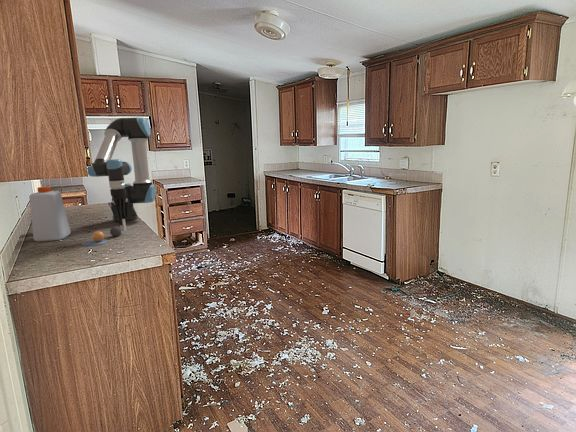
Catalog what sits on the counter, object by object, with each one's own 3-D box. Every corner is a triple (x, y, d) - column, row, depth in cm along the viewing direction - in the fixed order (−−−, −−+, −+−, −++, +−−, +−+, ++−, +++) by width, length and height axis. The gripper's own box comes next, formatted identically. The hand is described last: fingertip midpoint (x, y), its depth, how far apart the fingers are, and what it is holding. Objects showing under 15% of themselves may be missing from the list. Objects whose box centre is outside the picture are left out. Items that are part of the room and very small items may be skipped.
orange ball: (98, 234, 189) (89, 240, 185) (98, 227, 186) (89, 232, 182) (106, 240, 189) (98, 245, 184) (107, 232, 186) (98, 237, 181)
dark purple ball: (112, 225, 197) (111, 235, 197) (109, 225, 192) (108, 236, 191) (122, 226, 198) (121, 236, 198) (120, 226, 193) (119, 237, 192)
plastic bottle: (31, 242, 188) (20, 189, 182) (44, 235, 203) (35, 186, 197) (62, 240, 191) (53, 188, 185) (73, 233, 206) (65, 184, 200)
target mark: (80, 242, 185) (79, 242, 185) (105, 238, 192) (105, 237, 192) (83, 247, 176) (83, 247, 175) (110, 242, 183) (110, 242, 182)
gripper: (112, 190, 188) (119, 233, 193) (132, 186, 199) (137, 228, 204) (102, 189, 191) (108, 232, 196) (122, 186, 202) (127, 227, 207)
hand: (123, 230), depth 200 cm, fingers closed
